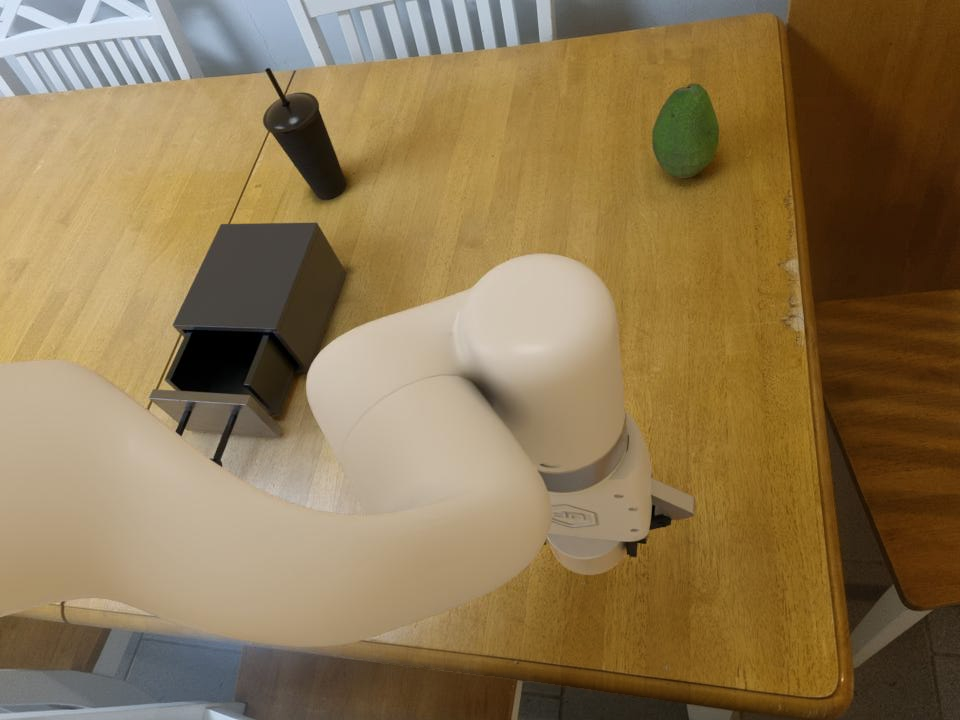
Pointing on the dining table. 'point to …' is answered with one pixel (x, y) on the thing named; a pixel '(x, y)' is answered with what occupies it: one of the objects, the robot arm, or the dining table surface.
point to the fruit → (686, 132)
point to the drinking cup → (305, 140)
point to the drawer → (228, 384)
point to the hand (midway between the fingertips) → (587, 532)
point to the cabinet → (267, 286)
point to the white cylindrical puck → (586, 553)
